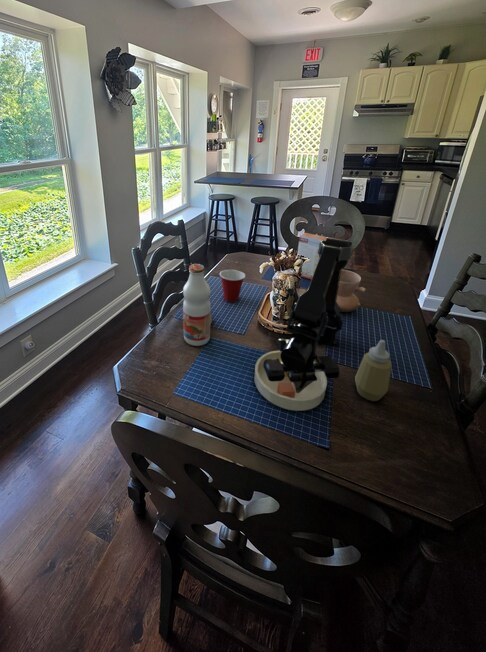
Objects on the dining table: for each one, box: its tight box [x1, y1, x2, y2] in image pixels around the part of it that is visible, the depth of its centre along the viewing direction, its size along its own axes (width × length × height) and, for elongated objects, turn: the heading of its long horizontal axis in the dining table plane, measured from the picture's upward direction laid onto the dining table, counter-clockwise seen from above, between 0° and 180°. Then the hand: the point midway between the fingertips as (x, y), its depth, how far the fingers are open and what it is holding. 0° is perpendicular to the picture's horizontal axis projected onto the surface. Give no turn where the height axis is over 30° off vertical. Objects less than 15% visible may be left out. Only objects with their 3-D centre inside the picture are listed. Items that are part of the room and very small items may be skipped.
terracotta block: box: [277, 382, 295, 398], centre depth 88 cm, size 4×4×4 cm
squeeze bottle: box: [354, 339, 392, 402], centre depth 86 cm, size 8×8×18 cm
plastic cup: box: [219, 269, 246, 303], centre depth 136 cm, size 11×11×12 cm
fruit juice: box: [182, 263, 212, 347], centre depth 108 cm, size 9×9×28 cm
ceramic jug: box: [336, 269, 366, 313], centre depth 129 cm, size 18×14×14 cm
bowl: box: [253, 349, 328, 412], centre depth 93 cm, size 20×20×4 cm
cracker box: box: [297, 232, 328, 281], centre depth 152 cm, size 14×6×21 cm, turn 46°
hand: (297, 391), depth 89 cm, fingers closed
